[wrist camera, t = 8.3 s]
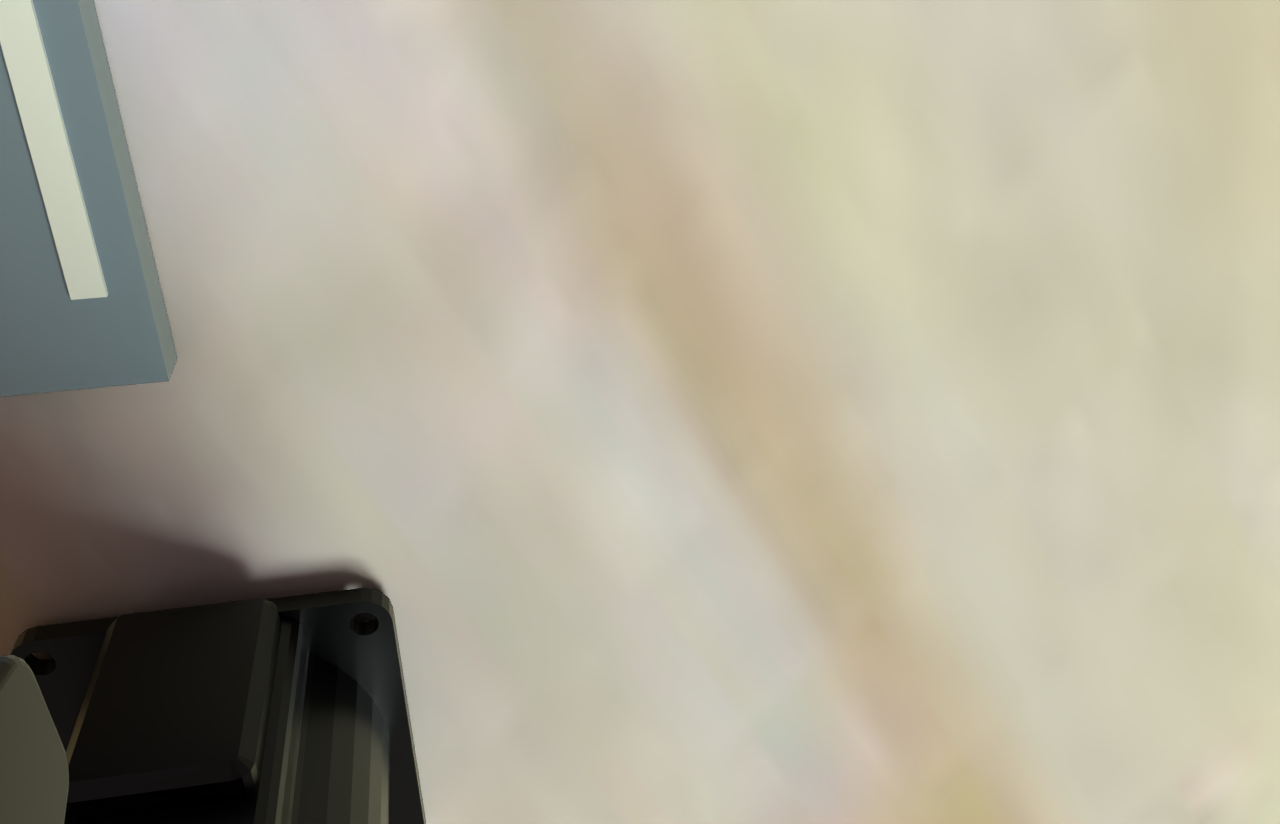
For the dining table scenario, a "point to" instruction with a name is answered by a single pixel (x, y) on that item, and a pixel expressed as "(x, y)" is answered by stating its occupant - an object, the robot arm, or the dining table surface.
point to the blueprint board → (70, 214)
